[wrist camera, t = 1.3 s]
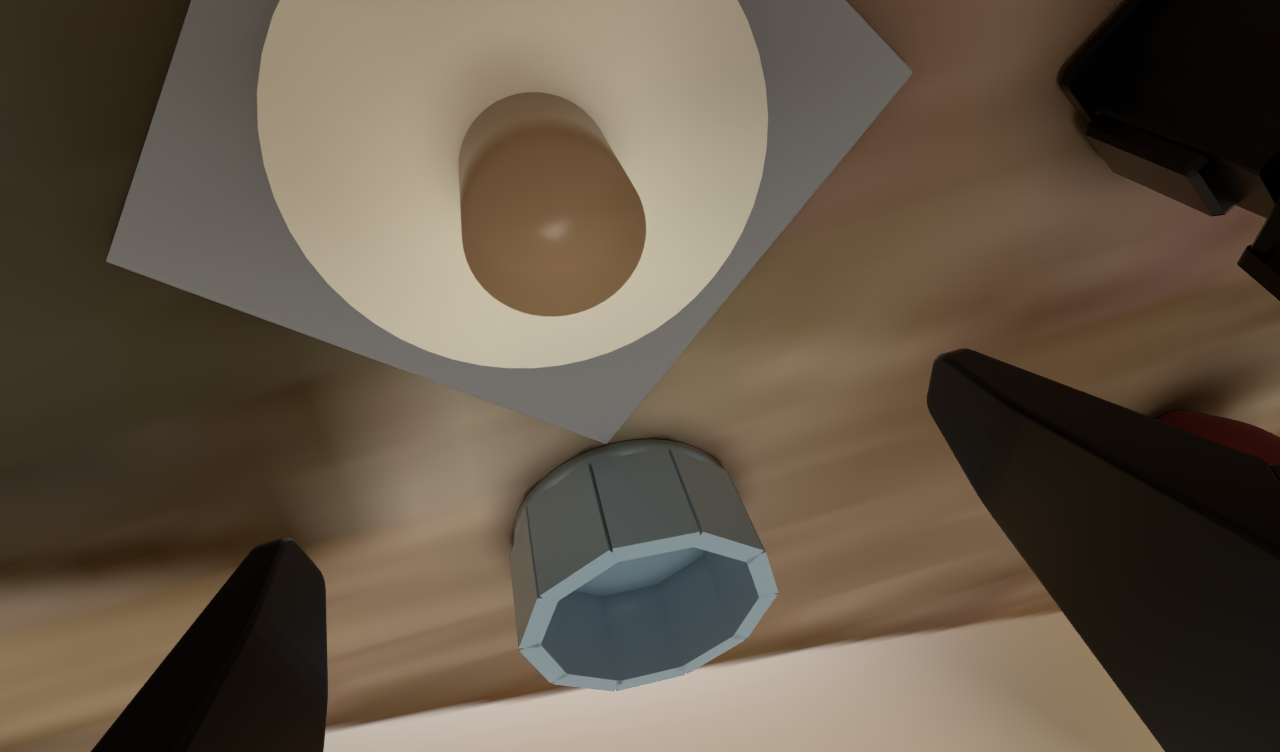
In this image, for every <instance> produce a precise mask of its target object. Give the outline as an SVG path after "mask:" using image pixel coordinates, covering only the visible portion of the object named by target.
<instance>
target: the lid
mask: <svg viewBox="0 0 1280 752" xmlns="http://www.w3.org/2000/svg"><path fill="white" fill-rule="evenodd" d="M257 120H258V134H259V140H260V146H261V151H262V157H263V163H264V167H265V171H266V174H267V177H268V180H269V183H270V186H271V190H272V193H273V196H274V199H275V201H276V203H277V205H278V208H279V210H280V212H281V214H282V216H283V218H284V220H285V223H286V225H287V227H288V229H289V231H290V233H291V234H292V236H293V237H294V239H295V240H296V242H297V244H298V245H299V247H300V248H301V250H302V251H303V253H304V255H305V256H306V258H307V259H308V260H309V262H310V263H311V264H312V265H313V266H314V268H315V269H316V270H317V271H318V272H319V274H320V275H321V276H322V277H323V279H324V280H325V281H326V282H327V283H328V284H329V285H330V286H331V287H332V288H333V289H334V290H335V291H336V292H337V293H338V294H339V295H340V296H341V297H342V298H343V299H344V300H345V301H346V302H347V303H348V304H349V305H351V306H352V307H353V308H354V309H356V310H357V311H358V312H360V313H361V314H362V315H364V316H365V317H366V318H368V319H369V320H370V321H372V322H373V323H374V324H376V325H378V326H379V327H381V328H383V329H384V330H386V331H388V332H389V333H391V334H393V335H394V336H396V337H398V338H400V339H401V340H404V341H406V342H408V343H410V344H413V345H415V346H417V347H419V348H421V349H424V350H426V351H428V352H432V353H435V354H438V355H441V356H444V357H447V358H450V359H453V360H457V361H462V362H467V363H471V364H476V365H481V366H490V367H500V368H541V367H551V366H560V365H565V364H570V363H575V362H579V361H584V360H588V359H591V358H594V357H597V356H600V355H603V354H606V353H609V352H612V351H614V350H616V349H619V348H621V347H623V346H625V345H628V344H630V343H632V342H634V341H636V340H638V339H640V338H641V337H643V336H645V335H647V334H648V333H650V332H652V331H654V330H655V329H657V328H658V327H660V326H661V325H662V324H664V323H665V322H666V321H668V320H669V319H671V318H672V317H673V316H675V315H676V314H677V313H678V312H680V311H681V310H682V309H683V308H684V307H685V306H686V305H687V304H689V303H690V302H691V301H692V300H693V299H694V298H695V297H696V296H697V295H698V294H699V293H700V292H701V291H702V290H703V288H704V287H705V286H706V285H707V284H708V283H709V282H710V281H711V280H712V278H713V277H714V276H715V275H716V273H717V272H718V270H719V269H720V268H721V266H722V265H723V263H724V262H725V261H726V259H727V258H728V256H729V255H730V253H731V251H732V250H733V248H734V246H735V244H736V243H737V241H738V239H739V237H740V235H741V234H742V232H743V230H744V227H745V225H746V223H747V220H748V218H749V215H750V213H751V211H752V208H753V206H754V203H755V199H756V196H757V192H758V189H759V185H760V182H761V179H762V173H763V167H764V162H765V156H766V150H767V131H768V109H767V96H766V84H765V80H764V75H763V70H762V65H761V60H760V55H759V51H758V49H757V46H756V43H755V40H754V37H753V34H752V31H751V28H750V25H749V22H748V20H747V18H746V16H745V14H744V12H743V10H742V8H741V6H740V4H739V2H738V0H280V1H279V3H278V5H277V7H276V9H275V11H274V14H273V16H272V19H271V23H270V26H269V30H268V33H267V37H266V40H265V44H264V47H263V50H262V55H261V63H260V71H259V78H258V86H257Z"/></svg>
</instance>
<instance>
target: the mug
mask: <svg viewBox="0 0 1280 752" xmlns="http://www.w3.org/2000/svg"><path fill="white" fill-rule="evenodd" d="M1156 420H1159V421H1161V422H1164V423H1167V424H1169V425H1172V426H1175V427H1177V428H1180V429H1183V430H1185V431H1188V432H1191V433H1193V434H1196V435H1199V436H1201V437H1204V438H1207V439H1209V440H1212V441H1214V442H1217V443H1220V444H1222V445H1225V446H1228V447H1230V448H1233V449H1236V450H1238V451H1241V452H1244V453H1246V454H1249V455H1252V456H1254V457H1257V458H1260V459H1262V460H1265V461H1266V462H1267V463H1268V464H1269V465H1272V464H1276V465H1279V466H1280V437H1278V436H1276V435H1274V434H1272V433H1270V432H1268V431H1265V430H1263V429H1261V428H1258V427H1256V426H1253V425H1250V424H1247V423H1244V422H1240V421H1236V420H1232V419H1228V418H1223V417H1218V416H1213V415H1208V414H1203V413H1198V412H1193V411H1187V410H1179V411H1174V412H1170V413H1168V414H1165V415H1163V416H1160V417H1159V418H1157V419H1156Z"/></svg>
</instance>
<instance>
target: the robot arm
mask: <svg viewBox="0 0 1280 752" xmlns="http://www.w3.org/2000/svg"><path fill="white" fill-rule="evenodd" d="M1081 73H1082V76H1081V78H1080V79H1079V80H1078V78H1079V76H1080V75H1081ZM1077 80H1078V81H1077ZM1060 85H1061V88H1062V90H1063V92H1064V93H1065V94H1066V95H1067V97H1068V98H1069V99H1070V101H1071V102H1072V103H1073V105H1074V106H1075V107H1076V109H1077V110H1078V111H1079V113H1080V114H1081V115H1082V117H1083V118H1084V119H1085V121H1086V122H1087V123H1088V124H1087V125H1086V126H1085V136H1086V137H1087V139H1088V140H1089V141H1090V143H1091V144H1092V145H1093V146H1094V148H1095V149H1096V150H1097V152H1098V153H1099V154H1100V155H1101V157H1102V158H1103V159H1104V161H1105V162H1106V163H1107V164H1108V166H1109V167H1110V168H1111V170H1112V171H1113V172H1115V173H1117V174H1119V175H1121V176H1123V177H1126V178H1128V179H1130V180H1132V181H1134V182H1137V183H1139V184H1141V185H1143V186H1146V187H1148V188H1150V189H1152V190H1154V191H1157V192H1159V193H1161V194H1163V195H1165V196H1168V197H1170V198H1172V199H1174V200H1176V201H1179V202H1181V203H1183V204H1185V205H1188V206H1190V207H1192V208H1194V209H1196V210H1199V211H1201V212H1203V213H1205V214H1207V215H1210V216H1219V215H1225V214H1226V213H1228V212H1229V211H1230V210H1231V209H1232V208H1233V207H1234V206H1236V205H1237V206H1239V207H1241V208H1244V209H1246V210H1248V211H1251V212H1253V213H1255V214H1258V215H1260V216H1263V217H1265V218H1267V220H1266V222H1265V223H1264V225H1263V227H1262V229H1261V230H1260V232H1259V234H1258V235H1257V237H1256V239H1255V241H1254V242H1253V244H1252V245H1249V246H1247V247H1246V249H1245V251H1244V252H1243V254H1242V256H1241V258H1240V259H1239V261H1238V263H1237V264H1238V266H1240V267H1241V268H1242V269H1243V270H1244V271H1245V272H1247V273H1248V274H1249V275H1250V276H1251V277H1252V278H1254V279H1255V280H1256V281H1257V282H1258V283H1259V284H1261V285H1262V286H1263V287H1264V288H1265V289H1266V290H1268V291H1269V292H1270V293H1271V294H1272V295H1273V296H1275V297H1276V298H1277V299H1278V300H1279V301H1280V0H1129V1H1128V2H1127V3H1126V4H1125V5H1124V6H1123V8H1122V9H1121V10H1120V11H1119V12H1118V13H1117V14H1116V15H1115V16H1114V17H1113V18H1112V19H1111V20H1110V22H1109V23H1108V24H1107V25H1106V26H1105V27H1104V28H1103V29H1102V30H1101V31H1100V32H1099V33H1098V35H1097V36H1096V37H1095V38H1094V39H1093V40H1092V41H1091V42H1090V43H1089V44H1088V45H1087V46H1086V47H1085V49H1084V50H1083V51H1082V52H1081V53H1080V54H1079V55H1078V56H1077V57H1076V58H1075V59H1074V60H1073V62H1072V63H1071V64H1070V65H1069V66H1068V67H1067V68H1066V70H1065V71H1064V73H1063V75H1062V78H1061V83H1060ZM927 405H928V409H929V411H930V414H931V416H932V417H933V419H934V421H935V423H936V424H937V426H938V428H939V429H940V431H941V433H942V435H943V436H944V438H945V440H946V442H947V443H948V445H949V447H950V448H951V450H952V452H953V454H954V455H955V457H956V459H957V461H958V462H959V464H960V466H961V467H962V469H963V471H964V473H965V474H966V476H967V478H968V480H969V481H970V483H971V485H972V486H973V488H974V490H975V491H976V493H977V495H978V496H979V498H980V499H981V501H982V502H983V504H984V505H985V507H986V508H987V510H988V511H989V512H990V514H991V515H992V517H993V518H994V519H995V521H996V522H997V523H998V525H999V526H1000V528H1001V529H1002V530H1003V532H1004V533H1005V534H1006V536H1007V537H1008V538H1009V540H1010V541H1011V542H1012V544H1013V545H1014V547H1015V548H1016V549H1017V551H1018V552H1019V553H1020V555H1021V556H1022V557H1023V559H1024V560H1025V562H1026V563H1027V564H1028V566H1029V567H1030V568H1031V570H1032V571H1033V572H1034V574H1035V575H1036V577H1037V578H1038V579H1039V581H1040V582H1041V583H1042V585H1043V586H1044V587H1045V589H1046V590H1047V592H1048V593H1049V594H1050V596H1051V597H1052V598H1053V600H1054V601H1055V602H1056V604H1057V605H1058V607H1059V608H1060V609H1061V611H1062V612H1063V613H1064V615H1065V616H1066V617H1067V619H1068V620H1069V621H1070V623H1071V624H1072V625H1073V627H1074V628H1075V630H1076V631H1077V632H1078V634H1079V635H1080V636H1081V638H1082V639H1083V640H1084V642H1085V643H1086V645H1087V646H1088V647H1089V649H1090V650H1091V651H1092V653H1093V654H1094V656H1095V657H1096V658H1097V659H1098V661H1099V662H1100V664H1101V665H1102V666H1103V668H1104V669H1105V671H1106V672H1107V673H1108V675H1109V676H1110V677H1111V679H1112V680H1113V681H1114V683H1115V684H1116V685H1117V687H1118V688H1119V690H1120V691H1121V692H1122V694H1123V695H1124V696H1125V698H1126V699H1127V700H1128V702H1129V703H1130V705H1131V706H1132V707H1133V708H1134V710H1135V711H1136V713H1137V714H1138V715H1139V717H1140V718H1141V720H1142V721H1143V722H1144V723H1145V725H1146V726H1147V728H1148V729H1149V730H1150V732H1151V733H1152V734H1153V736H1154V737H1155V739H1156V740H1157V741H1158V742H1159V744H1160V745H1161V747H1162V748H1163V749H1164V751H1165V752H1280V466H1279V465H1276V464H1272V465H1269V464H1268V463H1267V462H1266V461H1265V460H1262V459H1260V458H1257V457H1254V456H1252V455H1249V454H1246V453H1244V452H1241V451H1238V450H1236V449H1233V448H1230V447H1228V446H1225V445H1222V444H1220V443H1217V442H1214V441H1212V440H1209V439H1207V438H1204V437H1201V436H1199V435H1196V434H1193V433H1191V432H1188V431H1185V430H1183V429H1180V428H1177V427H1175V426H1172V425H1169V424H1167V423H1164V422H1161V421H1159V420H1156V419H1154V418H1151V417H1148V416H1146V415H1143V414H1140V413H1138V412H1135V411H1132V410H1130V409H1127V408H1124V407H1122V406H1119V405H1116V404H1114V403H1111V402H1108V401H1106V400H1103V399H1101V398H1098V397H1095V396H1093V395H1090V394H1087V393H1085V392H1082V391H1079V390H1077V389H1074V388H1071V387H1069V386H1066V385H1063V384H1061V383H1058V382H1055V381H1053V380H1050V379H1048V378H1045V377H1042V376H1040V375H1037V374H1034V373H1032V372H1029V371H1026V370H1024V369H1021V368H1018V367H1016V366H1013V365H1010V364H1008V363H1005V362H1002V361H1000V360H997V359H995V358H992V357H989V356H987V355H984V354H981V353H979V352H976V351H973V350H970V349H965V348H964V349H958V350H954V351H951V352H947V353H944V354H940V355H939V356H937V358H936V359H935V360H934V363H933V367H932V373H931V378H930V383H929V388H928V393H927ZM327 701H328V669H327V628H326V589H325V581H324V578H323V575H322V573H321V571H320V570H319V568H318V567H317V566H316V565H315V564H314V562H313V561H312V560H311V559H310V558H309V556H308V555H307V554H306V553H305V551H304V550H303V549H302V548H301V547H300V545H299V544H298V543H297V542H296V541H295V540H294V539H291V538H289V537H287V538H281V539H277V540H274V541H270V542H266V543H263V544H260V545H258V546H256V547H255V548H254V549H253V550H252V551H251V552H250V553H249V554H248V555H247V557H246V558H245V559H244V560H243V562H242V563H241V564H240V565H239V567H238V568H237V569H236V570H235V572H234V573H233V574H232V575H231V577H230V578H229V579H228V580H227V582H226V583H225V584H224V585H223V587H222V588H221V589H220V590H219V592H218V593H217V594H216V595H215V597H214V598H213V599H212V600H211V602H210V603H209V604H208V605H207V607H206V608H205V609H204V610H203V612H202V613H201V614H200V615H199V617H198V618H197V619H196V620H195V622H194V623H193V624H192V625H191V627H190V628H189V629H188V630H187V632H186V633H185V634H184V635H183V637H182V638H181V639H180V640H179V642H178V643H177V644H176V645H175V647H174V648H173V649H172V650H171V652H170V653H169V654H168V655H167V657H166V658H165V659H164V660H163V662H162V663H161V664H160V666H159V667H158V668H157V669H156V671H155V672H154V673H153V674H152V676H151V677H150V678H149V679H148V681H147V682H146V683H145V684H144V686H143V687H142V688H141V689H140V691H139V692H138V693H137V694H136V696H135V697H134V698H133V699H132V701H131V702H130V703H129V704H128V706H127V707H126V708H125V709H124V711H123V712H122V713H121V714H120V716H119V717H118V718H117V719H116V721H115V722H114V723H113V724H112V726H111V727H110V728H109V729H108V731H107V732H106V733H105V734H104V736H103V737H102V738H101V739H100V741H99V742H98V743H97V744H96V746H95V747H94V748H93V749H92V751H91V752H323V748H324V738H325V727H326V716H327Z"/></svg>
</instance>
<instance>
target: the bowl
mask: <svg viewBox="0 0 1280 752" xmlns="http://www.w3.org/2000/svg"><path fill="white" fill-rule="evenodd" d="M513 538H514V545H513V548H512V551H511V554H510V566H511V576H512V586H513V596H514V606H515V616H516V626H517V637H518V647H519V651H520V652H521V653H522V654H523V655H524V656H525V657H526V658H527V659H528V660H529V661H530V662H531V663H532V664H533V666H534V667H535V668H536V669H537V670H538V671H539V672H540V673H541V674H542V675H543V676H544V677H545V678H546V679H547V680H548V681H549V682H550V683H552V682H553V684H557V685H565V686H573V687H582V688H590V689H599V690H607V691H614V690H615V689H616V691H619V690H623V689H627V688H631V687H636V686H640V685H644V684H648V683H652V682H657V681H661V680H665V679H669V678H674V677H678V676H682V675H685V673H690V672H692V671H693V670H695V669H697V668H698V667H700V666H702V665H703V664H705V663H707V662H708V661H710V660H712V659H714V658H715V657H717V656H719V655H720V654H722V653H724V652H725V651H727V650H729V649H731V648H732V647H734V646H736V645H737V644H739V643H741V642H742V641H744V640H745V638H748V636H749V635H750V634H751V632H752V631H753V629H754V628H755V626H756V625H757V623H758V622H759V621H760V619H761V618H762V616H763V615H764V613H765V612H766V610H767V609H768V608H769V606H770V605H771V603H772V602H773V600H774V599H775V598H776V596H777V595H778V594H777V593H778V590H777V587H776V583H775V580H774V577H773V574H772V571H771V567H770V564H769V561H768V558H767V555H766V552H765V549H764V547H763V545H762V543H761V541H760V539H759V537H758V535H757V533H756V530H755V528H754V526H753V524H752V522H751V520H750V518H749V516H748V514H747V511H746V509H745V507H744V505H743V503H742V501H741V499H740V497H739V495H738V492H737V490H736V488H735V486H734V484H733V482H732V480H731V478H730V476H729V473H728V472H727V471H726V470H724V469H723V468H722V467H721V465H720V464H719V463H718V462H717V461H716V460H715V459H714V458H712V457H711V456H710V455H708V454H707V453H705V452H704V451H702V450H700V449H698V448H695V447H693V446H690V445H687V444H684V443H681V442H675V441H670V440H659V439H640V440H631V441H623V442H618V443H614V444H610V445H606V446H603V447H599V448H596V449H593V450H590V451H588V452H586V453H584V454H581V455H579V456H577V457H575V458H573V459H571V460H569V461H567V462H566V463H564V464H562V465H561V466H559V467H558V468H556V469H555V470H553V471H552V472H551V473H549V474H548V475H547V476H546V477H545V478H543V479H542V480H541V481H540V482H539V483H538V484H537V485H536V486H535V487H534V488H533V489H532V490H531V492H530V493H529V494H528V496H527V497H526V498H525V500H524V501H523V503H522V505H521V507H520V509H519V511H518V513H517V516H516V519H515V523H514V530H513Z"/></svg>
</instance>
